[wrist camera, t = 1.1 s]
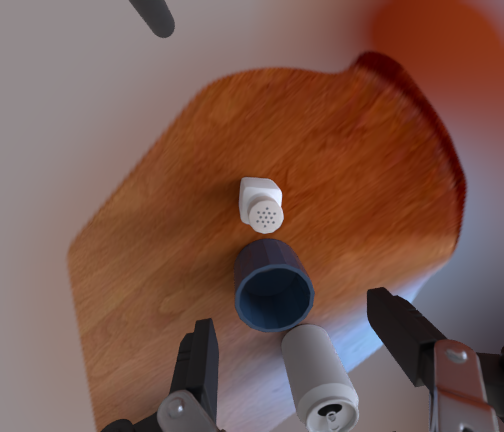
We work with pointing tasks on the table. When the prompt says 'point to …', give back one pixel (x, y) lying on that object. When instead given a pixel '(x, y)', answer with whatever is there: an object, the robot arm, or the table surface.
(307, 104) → the table surface
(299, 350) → the can
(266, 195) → the salt shaker
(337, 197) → the table surface
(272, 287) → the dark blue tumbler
